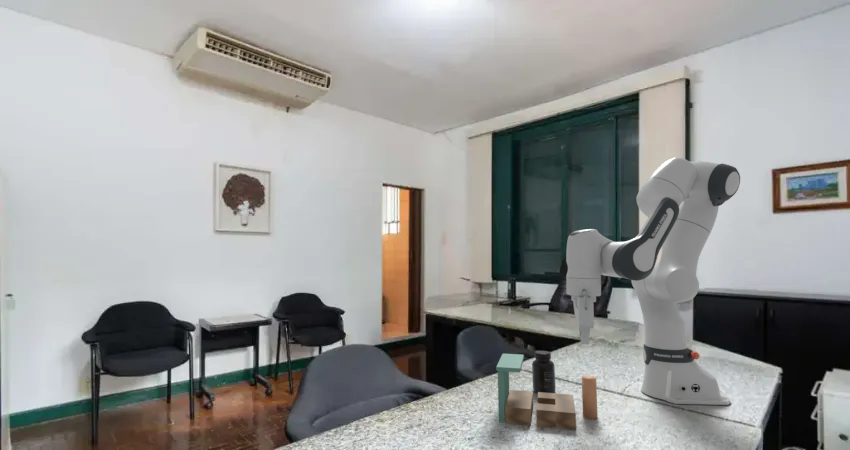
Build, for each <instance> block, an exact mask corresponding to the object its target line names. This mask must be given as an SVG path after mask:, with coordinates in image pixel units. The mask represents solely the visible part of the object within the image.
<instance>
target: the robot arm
mask: <svg viewBox="0 0 850 450" xmlns="http://www.w3.org/2000/svg"><path fill="white" fill-rule="evenodd" d="M740 183H741V175H740V172H739V170H738V168H737V167H735V166H732V165H730V164H726V163H715V162H710V161H701V160H698V161H692V160H691V161H689V160H688V159H686V158H682V157H673V158H670V159H667V160H666V161H665V162H663V163H662V164H661V165H660V166H659V167H658V168H656V170H654V171H653V173H652V174H651V175H650V176H649V177H648V178H647V179H646V181H645V182H644V183H643V185H642V186H641V187H640V189H639V190H638V193H637V195H636V197H635V198H636V204H637V207H638V208H639V210H640V211H641V212H642V213H643V214H644V215H645V217H647V219H646V221H645V222H644V224H643V226H642V227H641V229H640V231H639V233H638V234H637V235H636V236H635V237H634V238H632V239H629V240H626V241H613V240H611V239H609V238H607V237H605V236H604V235H602V234H601V233H600V232H599V231H598V229H594V228H586V229H579V230H575V231H573V232H571V233H570V234H569V235H568V237H567V242H566V251H565V252H566V255H565V256H566V259H565V262H566V265H567V272H566V276H565V277H566V282H565V284H566V287H565V288H566V289H565V290H566V295H569V296H570V297H571V301H572V302H573V312H574V317H575V319H576V323H577V325H578V332H579V333H578V336H579V337H580V338H581V339H580V340H581V341H580V342H581V344H583V345H589V344H590V332H591V331H590V330H591V329H592V330H593V329H594V327H595V314H594V313H595V311H594V307H595V306H594V303H596V302H597V297H600V296H601V295H602V276H606V277H613V278H620V279H626V280H630V281H631V285H632V287H633V289H634V290H635V292H636V295H637V298H638V302H639V306H640V310H641V313H642V318H643V319H642V320H643V329H644V344H643V349H642V350H643V351H642V352H643V361H644V374H643V381H642V384H641V387H640V391H641V392H642V393H643V394H644V395H647V396H650V397H652V398H655V399H659V400H663V401H666V402H669V403H671V404H674V405H675V404H676V405H710V406H711V405H714V406H716V405H717V406H718V405H719V406H720V405H722V406H725V405H726V406H729V405H730V403H731V399H730V398H729V396H728V395H727V394H726V393H724V392H723V391H721V390H720V386H719V383H718V381H717V378H716V377H715V376H714V375H713V374H712V373H711V372H709V371H708V370H707V369H706V368H704V367H703V366H702V365H700V364H699V363H698V362H696V361H695V360H699V358H701V357H700V356H701V355H700V354H699V352H697V351H696V350H693V349H692V348H691V349H690V348H688V347H687V336H686V335H687V334H686V333H687V331H686V321H685V319H684V318H683V317H682V315H681V313H680V311H679V308H678V305H677V304H679V303H684V302H688V301H691V300H692V299H694V298H695V297H696V295H698V293H699V289H700V283H699V280H698V277H697V268H698V263H699V258H700V255H701V253H702V251H703V249H704V247H705V245H706V244H707V240H708V238H709V236H710V234H711V233H712V230H713V227H714V226H715V222H716V220H717V216H718V213H719V206H722V205H723V204H724V203H725V202H727V201H729V200H731V199H732V197H733V196H735V195H736V193H737V192H738V190H739V187H740ZM660 251H661V253H660ZM659 253H660V258H659V260H658V256H659ZM657 260H658V263H657ZM656 263H657V264H656Z"/></svg>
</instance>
